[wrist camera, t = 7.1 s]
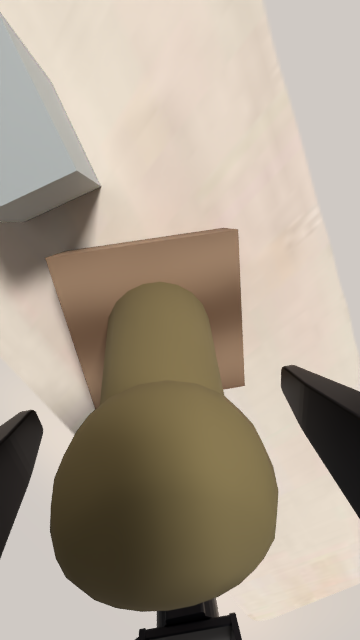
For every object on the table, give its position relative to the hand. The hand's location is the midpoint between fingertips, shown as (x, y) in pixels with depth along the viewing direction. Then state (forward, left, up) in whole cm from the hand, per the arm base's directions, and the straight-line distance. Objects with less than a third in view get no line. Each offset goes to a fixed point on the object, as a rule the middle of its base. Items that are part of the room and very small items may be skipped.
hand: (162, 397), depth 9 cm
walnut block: (0, 0, -9) cm, 9 cm away
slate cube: (+10, +5, -9) cm, 14 cm away
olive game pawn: (0, 0, -6) cm, 6 cm away
